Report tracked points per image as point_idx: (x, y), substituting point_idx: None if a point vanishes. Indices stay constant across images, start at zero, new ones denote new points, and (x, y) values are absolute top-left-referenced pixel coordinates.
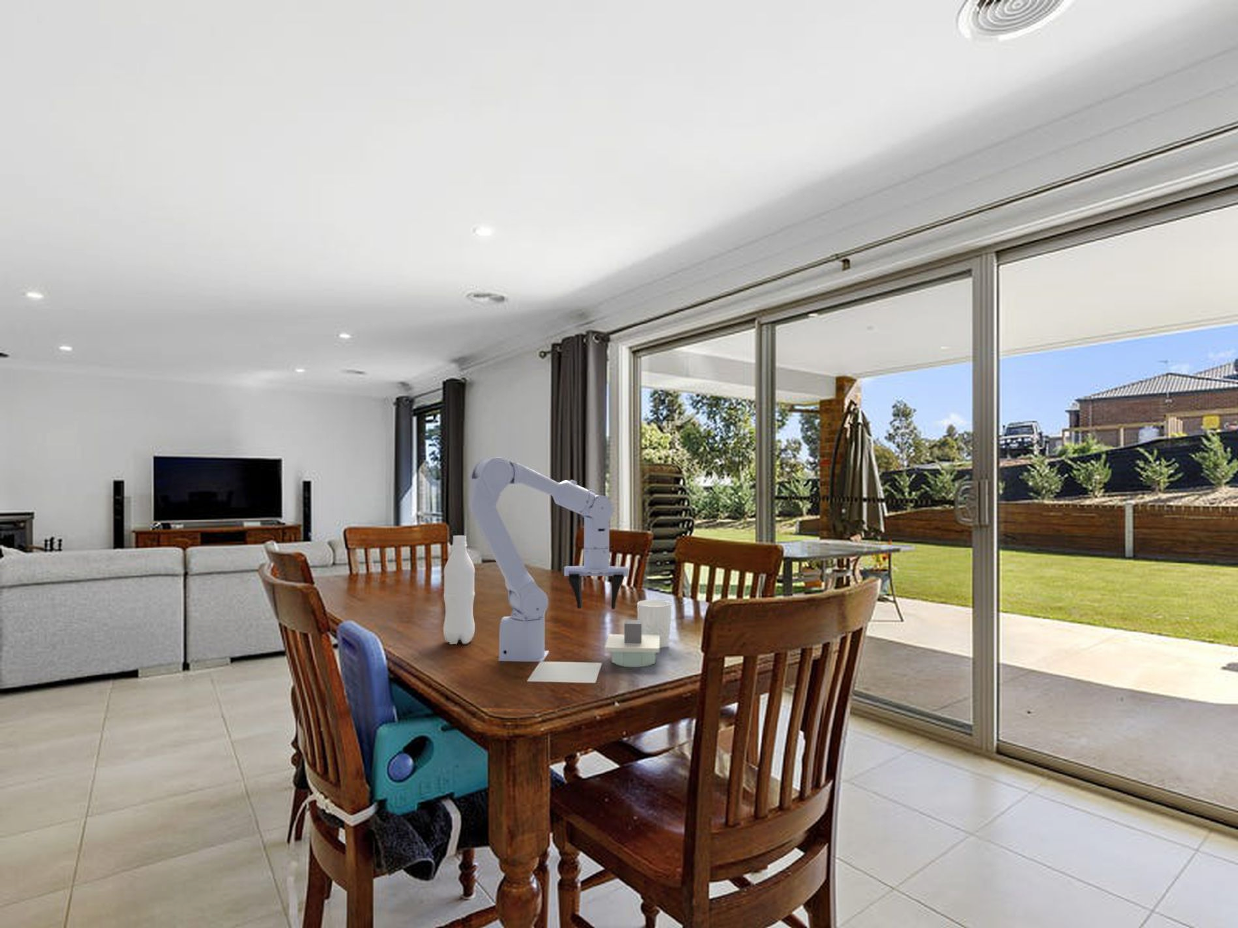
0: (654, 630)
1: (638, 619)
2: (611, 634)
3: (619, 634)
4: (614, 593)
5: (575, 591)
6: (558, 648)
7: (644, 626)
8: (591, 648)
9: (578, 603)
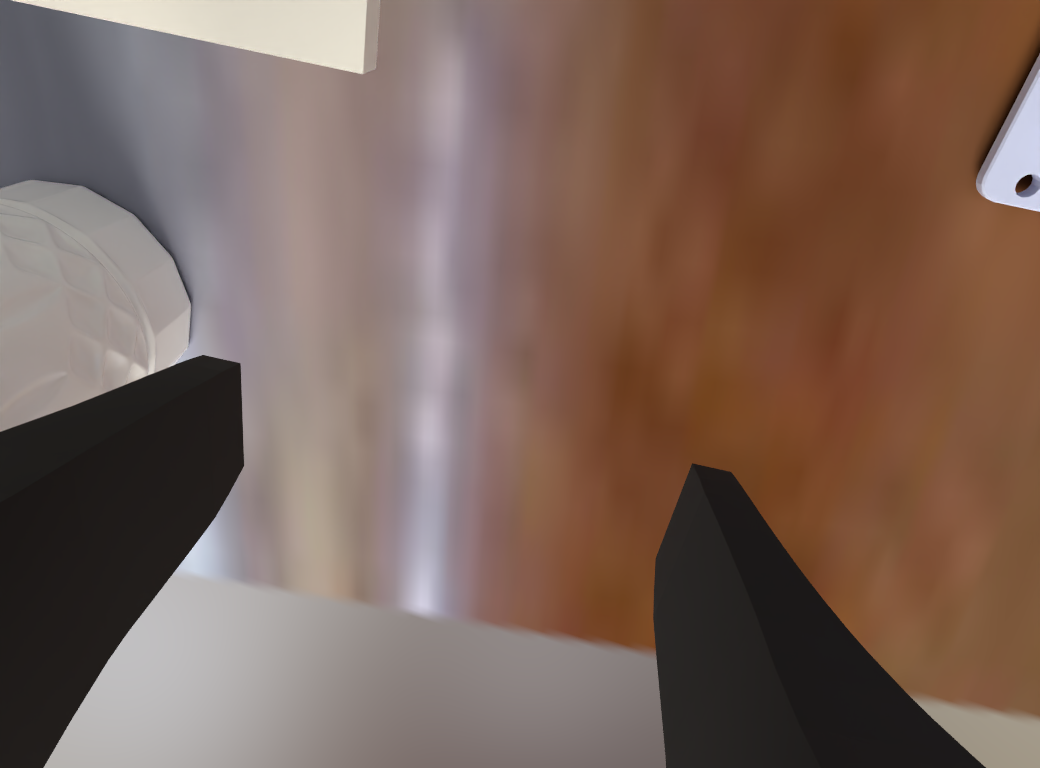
0: None
1: (52, 392)
2: (338, 55)
3: (245, 43)
4: (7, 453)
5: (854, 666)
6: (836, 337)
7: (7, 273)
8: (563, 298)
9: (736, 505)
